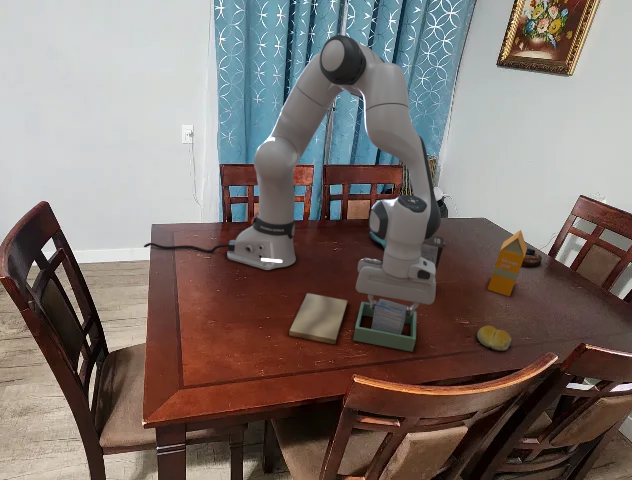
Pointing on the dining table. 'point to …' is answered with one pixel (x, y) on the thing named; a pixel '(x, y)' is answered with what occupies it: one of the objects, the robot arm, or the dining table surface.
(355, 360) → the dining table surface
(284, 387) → the dining table surface
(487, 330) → the bread roll
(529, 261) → the pastry
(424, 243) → the coffee box
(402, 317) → the medicine box
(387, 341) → the bin
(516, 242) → the orange juice
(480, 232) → the dining table surface
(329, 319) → the board
